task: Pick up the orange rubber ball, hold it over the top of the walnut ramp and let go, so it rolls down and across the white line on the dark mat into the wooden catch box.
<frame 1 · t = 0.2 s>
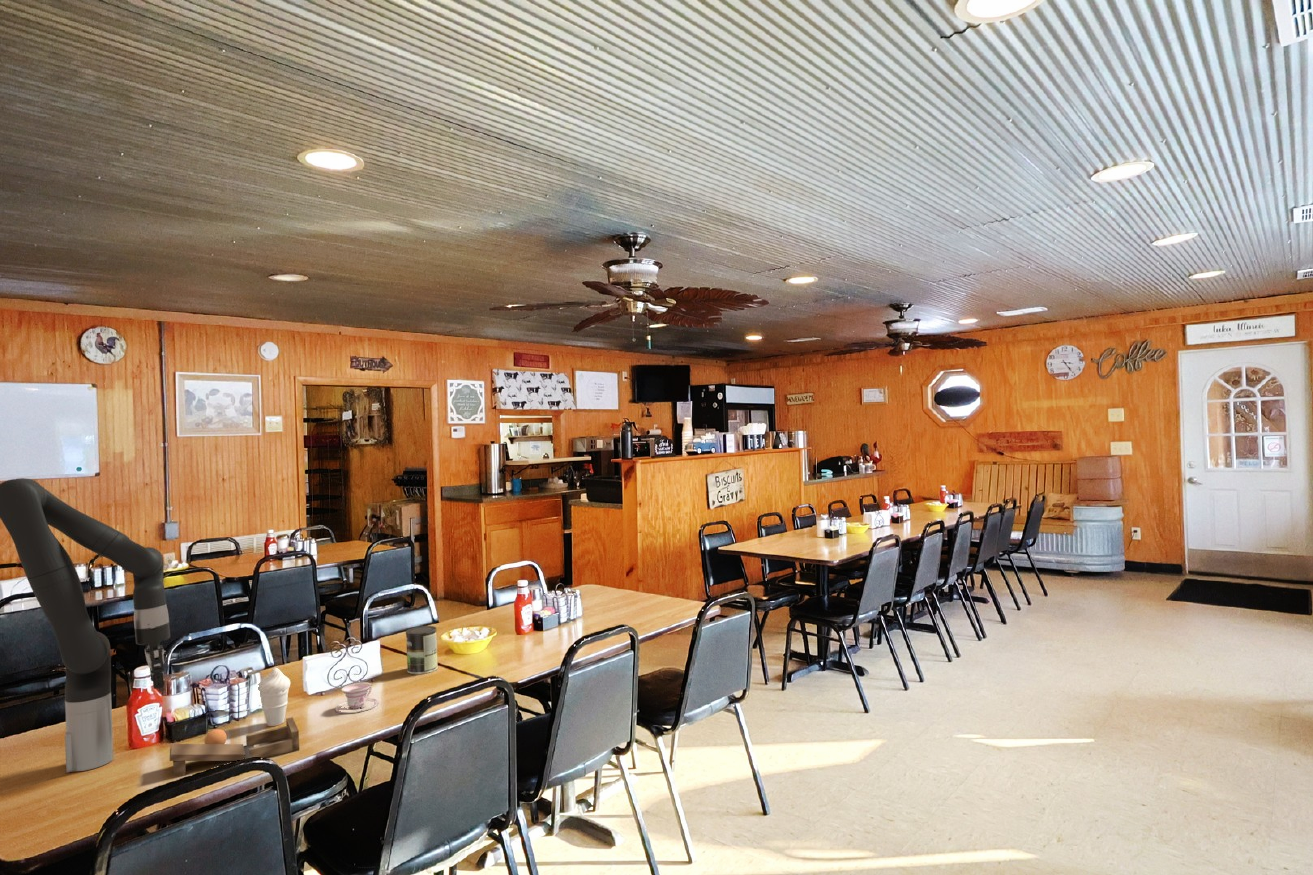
hand: (157, 683, 193), 17 cm above the table, tool pointing down, fingers open, 8 cm apart
coffee can: (422, 670, 254), on the table
teacup: (357, 707, 219), on the table
ball: (215, 739, 192), point 2 cm above the table
ramp: (208, 763, 183), on the table
catch box: (270, 748, 190), on the table
soft serve ice cream cone: (275, 724, 208), on the table
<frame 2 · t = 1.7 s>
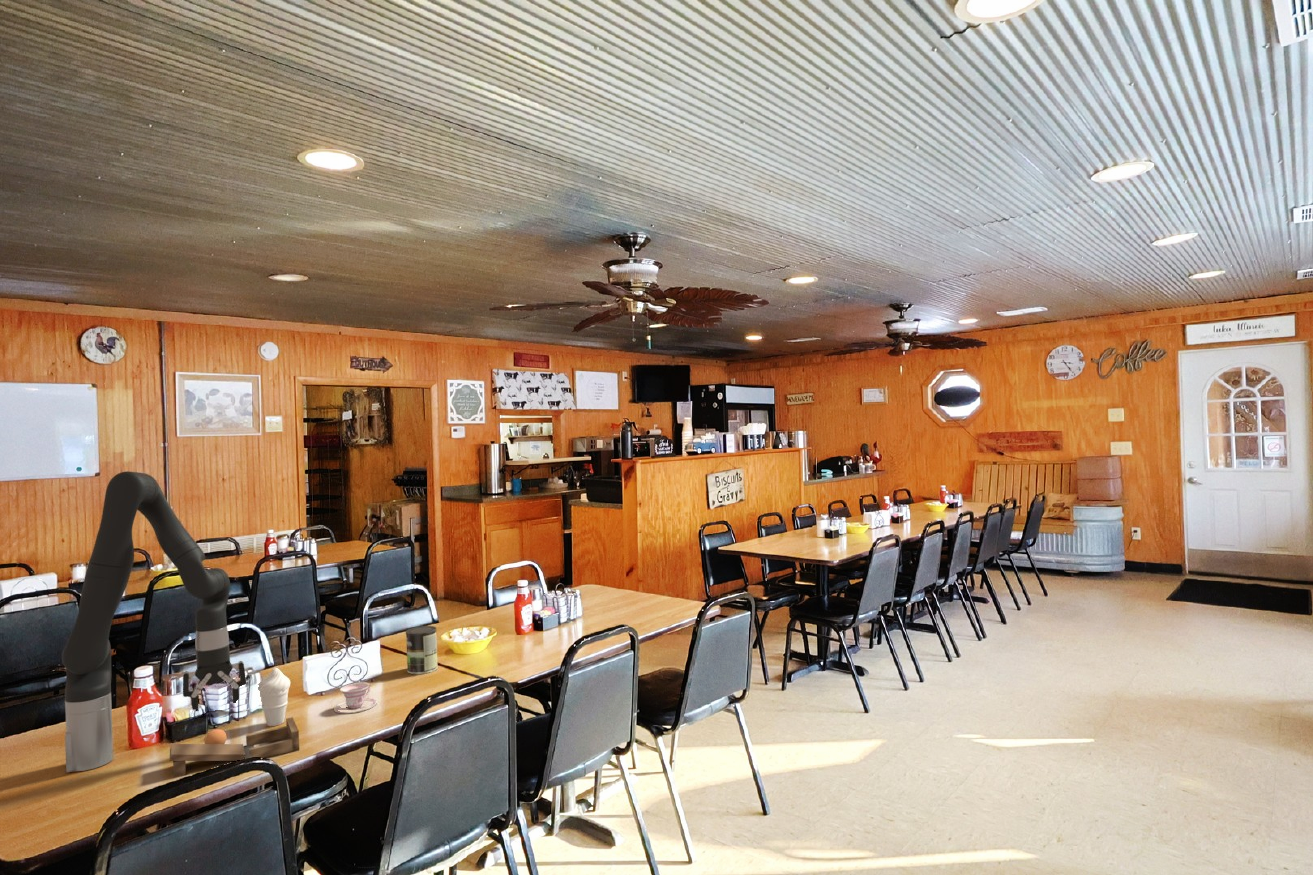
hand: (216, 706, 192), 11 cm above the table, tool pointing down, fingers open, 8 cm apart
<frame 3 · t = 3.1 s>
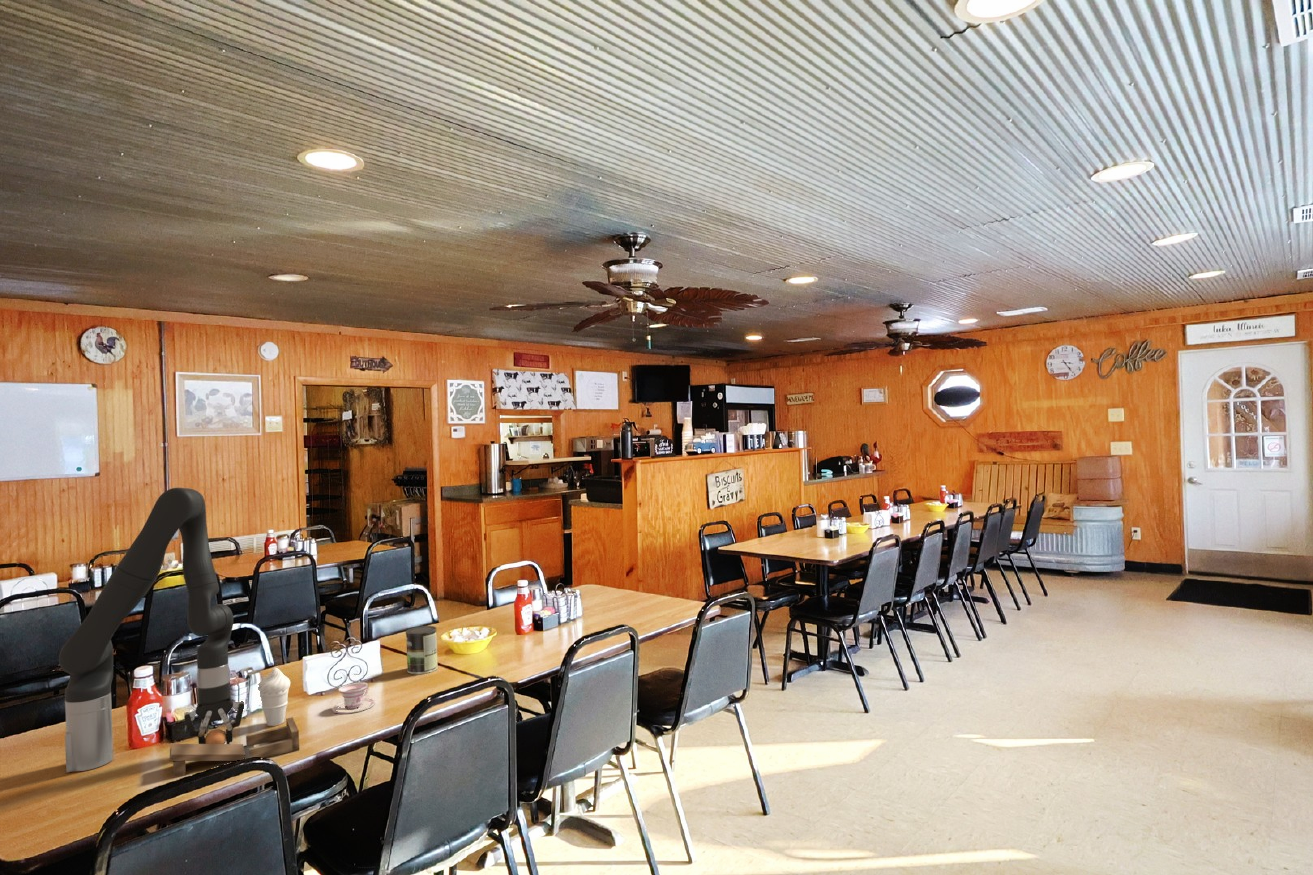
hand: (216, 746, 192), 1 cm above the table, tool pointing down, fingers closed on ball, 5 cm apart
ball: (215, 739, 192), point 2 cm above the table, touching gripper
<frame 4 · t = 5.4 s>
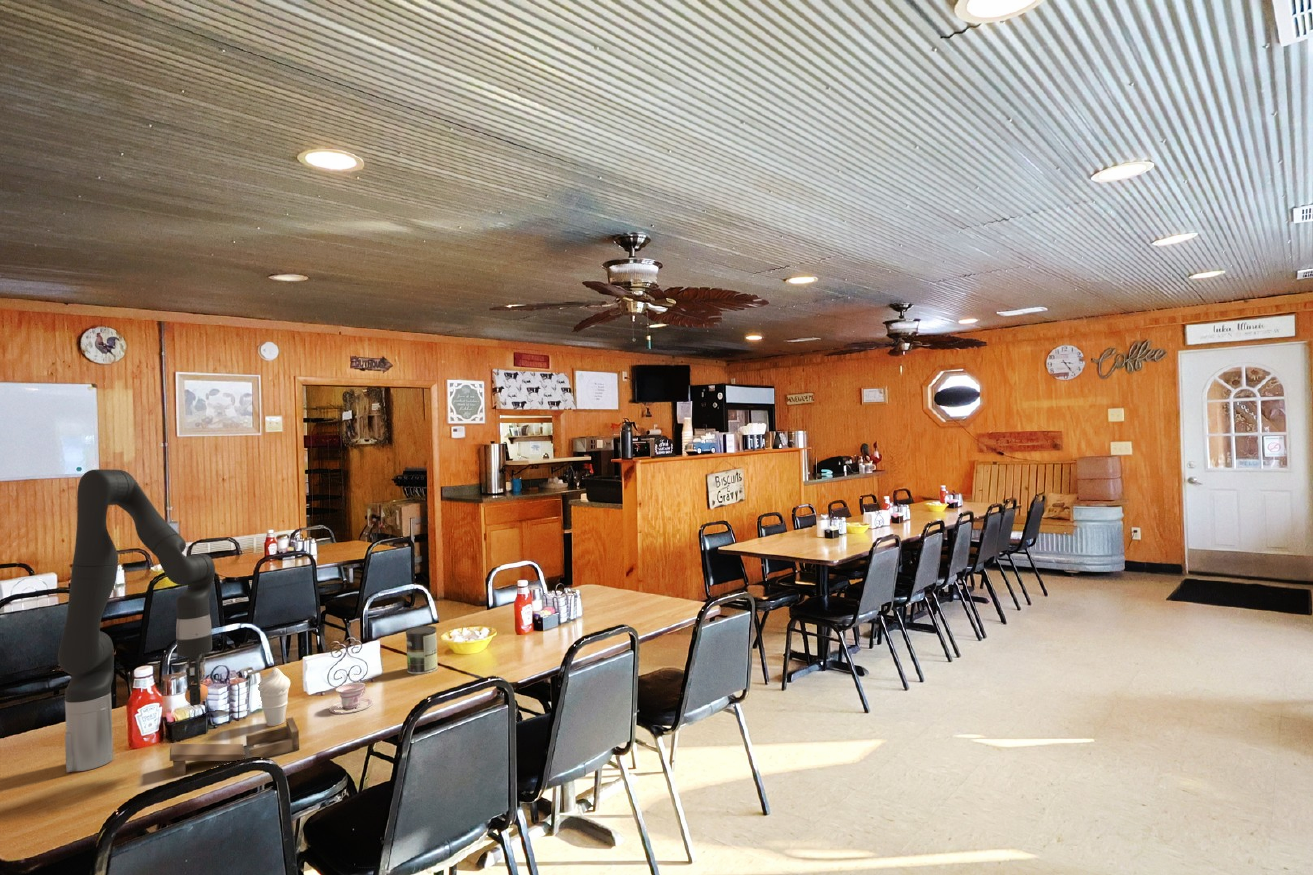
hand: (196, 701, 184), 15 cm above the table, tool pointing down, fingers closed on ball, 5 cm apart
ball: (196, 693, 184), point 17 cm above the table, touching gripper
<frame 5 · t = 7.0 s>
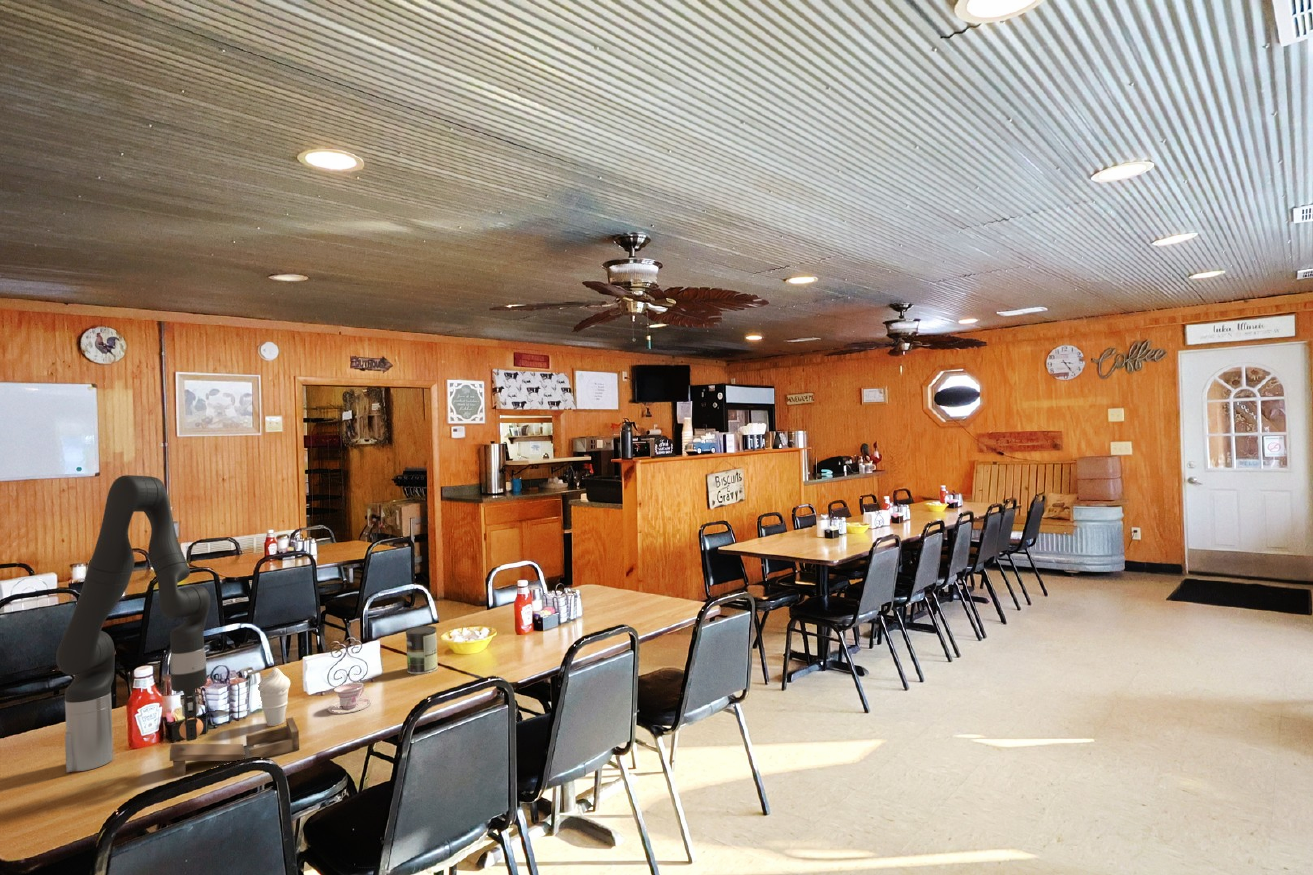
hand: (191, 735, 181), 8 cm above the table, tool pointing down, fingers closed on ball, 5 cm apart
ball: (191, 728, 181), point 10 cm above the table, touching gripper
when the fingers open (7 cm above the table, at t = 8.0 s): ball drops 6 cm and tips over, resting on catch box.
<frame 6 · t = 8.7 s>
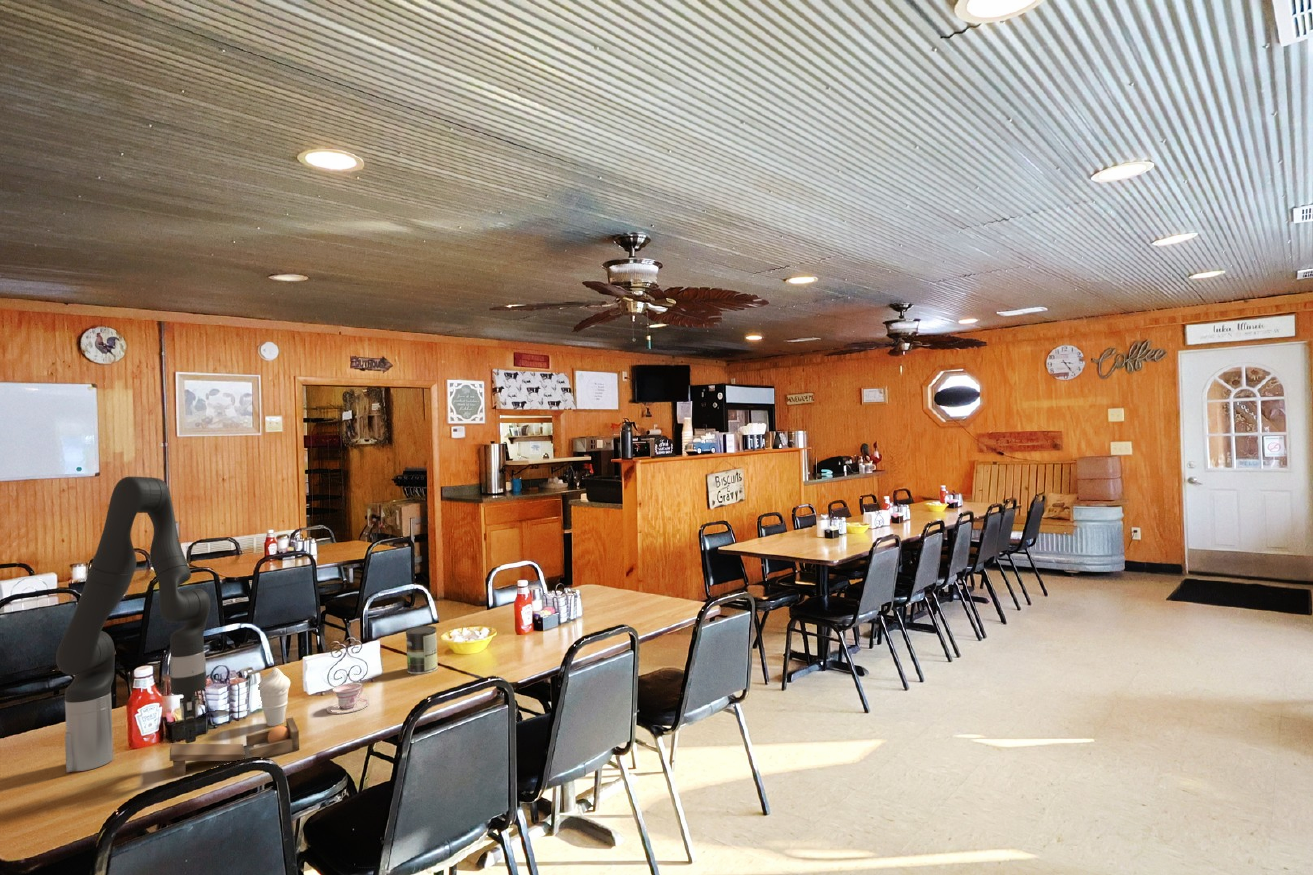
hand: (190, 736, 181), 8 cm above the table, tool pointing down, fingers open, 8 cm apart
ball: (278, 735, 191), point 3 cm above the table, tilted 111°, touching catch box
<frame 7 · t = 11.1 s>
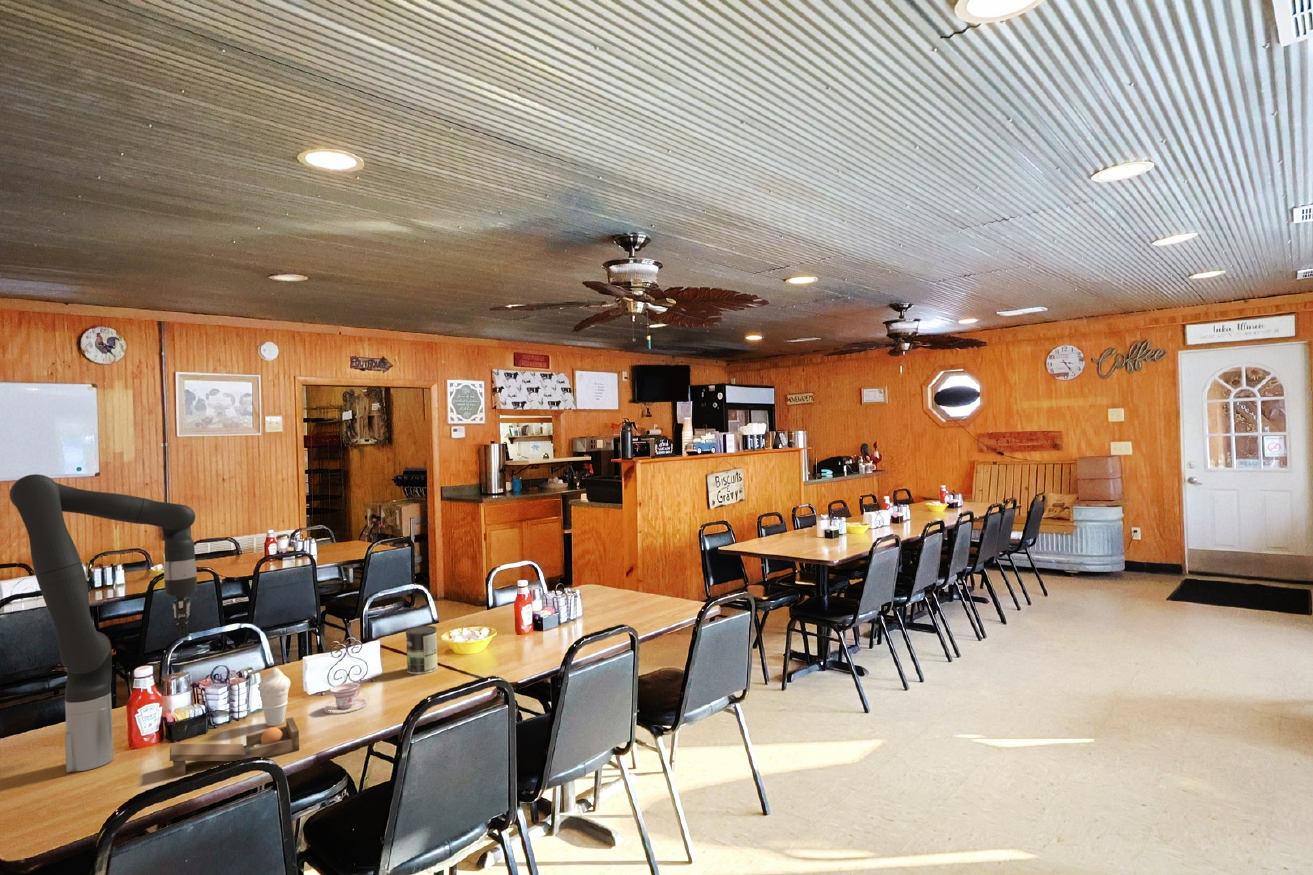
hand: (182, 634, 201), 28 cm above the table, tool pointing down, fingers open, 8 cm apart
ball: (271, 737, 190), point 3 cm above the table, tilted 75°, touching catch box
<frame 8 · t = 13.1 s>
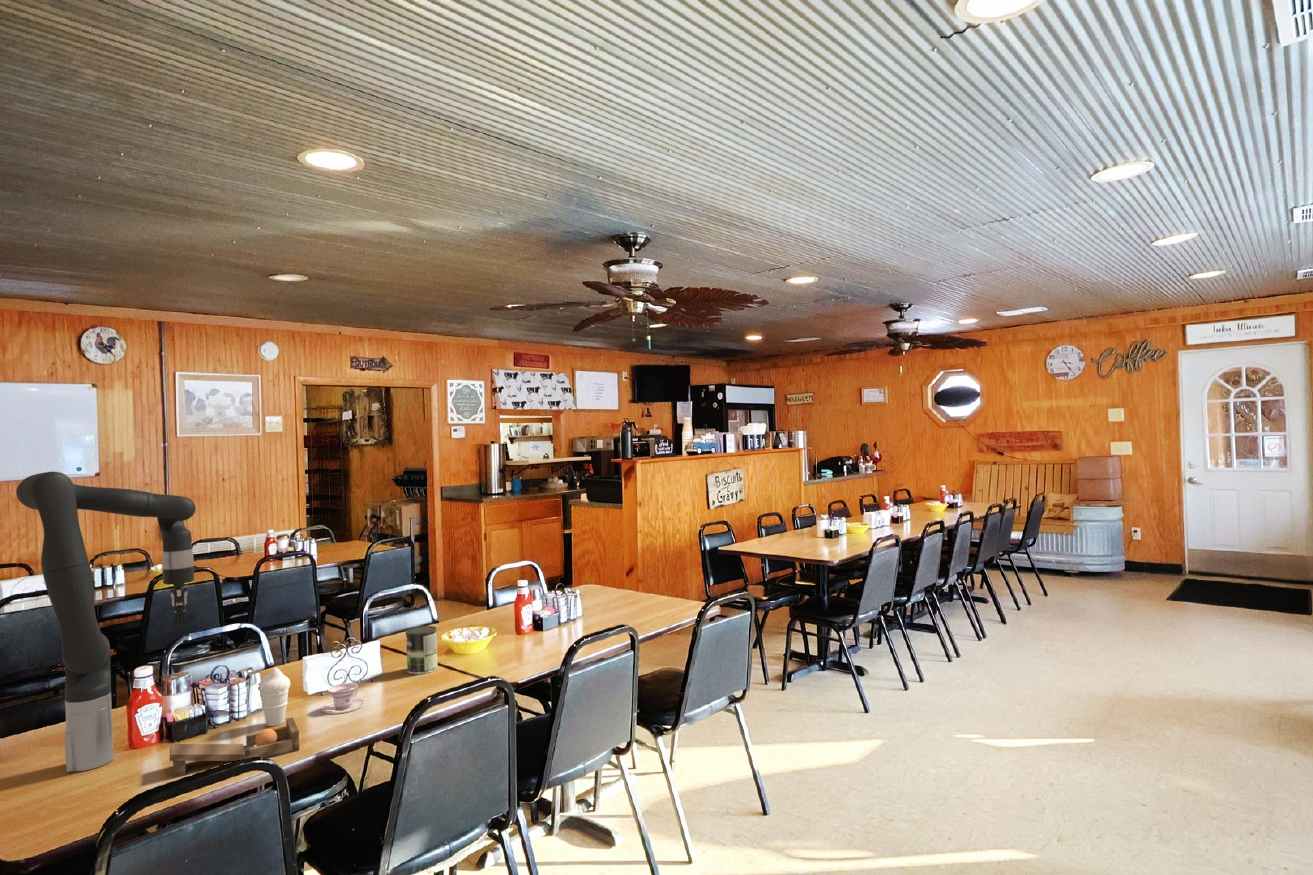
hand: (180, 622, 208), 30 cm above the table, tool pointing down, fingers open, 8 cm apart
ball: (266, 738, 190), point 3 cm above the table, tilted 46°, touching catch box
at the end: ball inside the target area (2.5 cm from its centre), point 2.8 cm above the table; the gripper is holding nothing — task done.
